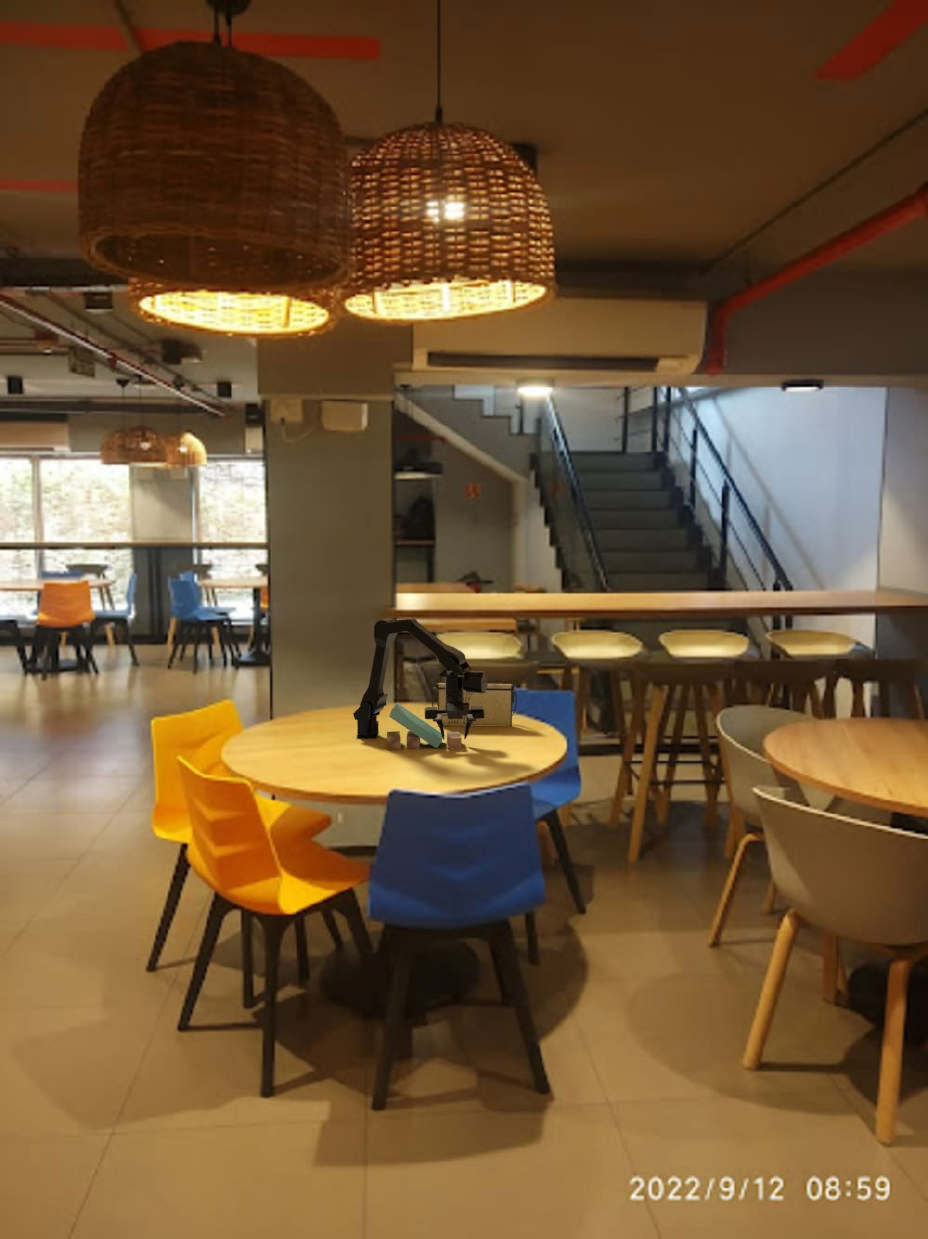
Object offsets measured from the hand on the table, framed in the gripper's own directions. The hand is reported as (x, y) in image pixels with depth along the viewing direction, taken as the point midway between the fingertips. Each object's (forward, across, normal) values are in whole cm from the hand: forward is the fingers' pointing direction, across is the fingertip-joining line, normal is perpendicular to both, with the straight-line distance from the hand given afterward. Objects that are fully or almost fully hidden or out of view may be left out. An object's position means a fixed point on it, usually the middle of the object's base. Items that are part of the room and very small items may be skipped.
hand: (454, 739), depth 282 cm
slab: (-3, -13, +1) cm, 13 cm away
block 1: (+2, -19, 0) cm, 19 cm away
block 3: (+2, 0, 0) cm, 2 cm away
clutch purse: (+2, +8, +28) cm, 29 cm away
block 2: (+2, -13, +1) cm, 13 cm away
